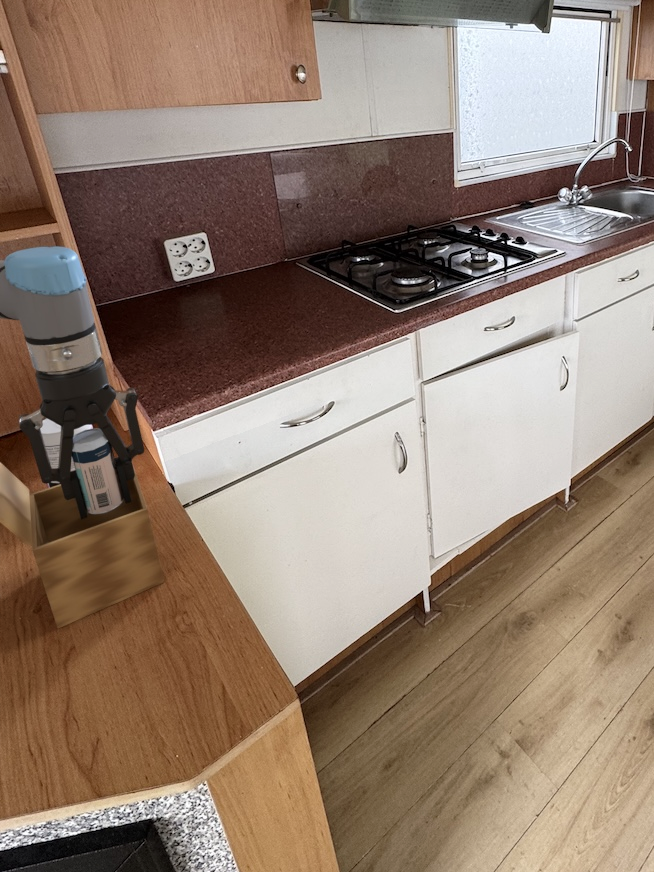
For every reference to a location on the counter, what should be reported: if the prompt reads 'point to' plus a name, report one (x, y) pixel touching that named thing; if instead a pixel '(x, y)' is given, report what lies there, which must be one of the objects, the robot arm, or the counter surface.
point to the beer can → (96, 471)
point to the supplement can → (56, 443)
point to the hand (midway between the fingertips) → (105, 505)
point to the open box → (92, 552)
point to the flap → (15, 506)
